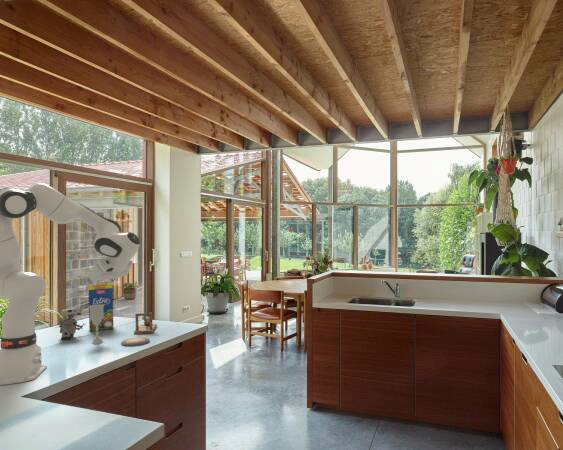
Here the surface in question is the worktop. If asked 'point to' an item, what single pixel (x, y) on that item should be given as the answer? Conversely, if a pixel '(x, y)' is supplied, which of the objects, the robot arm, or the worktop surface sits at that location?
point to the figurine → (69, 322)
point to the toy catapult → (145, 324)
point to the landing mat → (135, 341)
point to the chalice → (96, 320)
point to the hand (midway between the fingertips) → (102, 283)
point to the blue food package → (104, 297)
